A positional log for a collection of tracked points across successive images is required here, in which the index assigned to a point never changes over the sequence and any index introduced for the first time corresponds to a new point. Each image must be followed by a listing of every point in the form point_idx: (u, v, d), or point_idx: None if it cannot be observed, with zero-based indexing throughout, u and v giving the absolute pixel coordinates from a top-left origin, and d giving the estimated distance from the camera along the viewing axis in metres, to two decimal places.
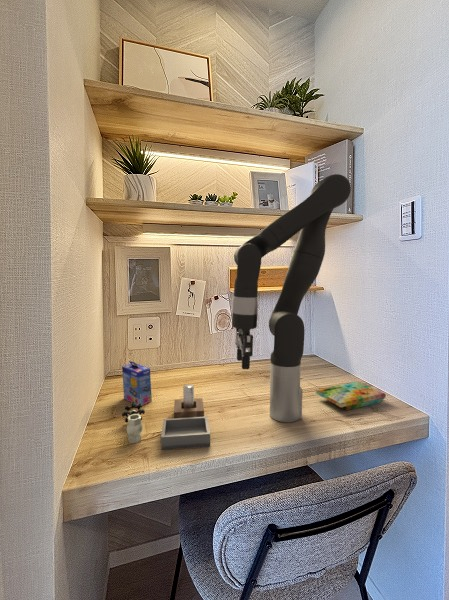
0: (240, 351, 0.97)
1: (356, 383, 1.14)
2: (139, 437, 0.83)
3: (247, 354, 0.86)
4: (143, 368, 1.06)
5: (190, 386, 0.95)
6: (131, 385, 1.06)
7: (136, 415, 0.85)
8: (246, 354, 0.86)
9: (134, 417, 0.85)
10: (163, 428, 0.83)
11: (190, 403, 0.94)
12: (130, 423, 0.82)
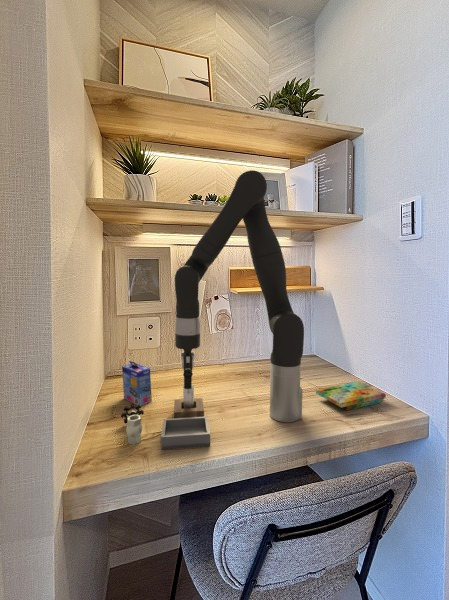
0: (187, 369, 0.99)
1: (355, 383, 1.14)
2: (139, 438, 0.83)
3: (187, 375, 0.88)
4: (143, 368, 1.06)
5: None
6: (131, 384, 1.06)
7: (136, 416, 0.84)
8: (186, 375, 0.88)
9: (134, 418, 0.84)
10: (163, 428, 0.83)
11: (190, 403, 0.94)
12: (130, 424, 0.81)
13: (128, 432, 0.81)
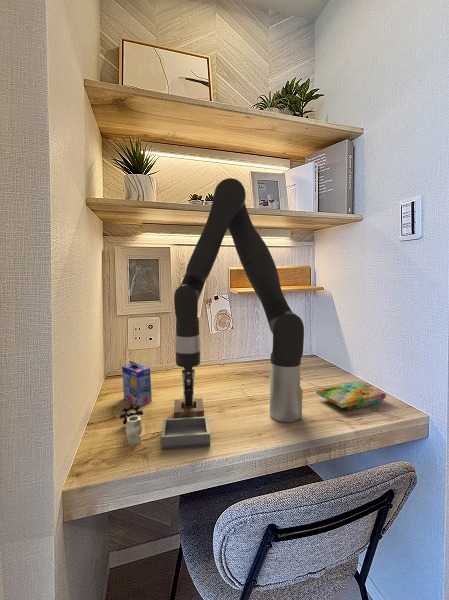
0: None
1: (355, 383, 1.14)
2: (139, 439, 0.82)
3: (188, 393, 0.91)
4: (143, 368, 1.06)
5: None
6: (131, 384, 1.06)
7: (135, 416, 0.84)
8: (187, 393, 0.91)
9: (133, 419, 0.84)
10: (163, 428, 0.83)
11: None
12: (130, 425, 0.81)
13: (128, 433, 0.81)
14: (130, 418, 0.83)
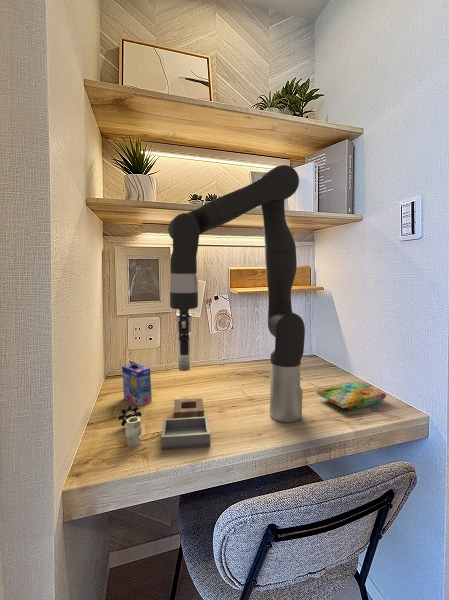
0: None
1: (355, 383, 1.14)
2: (139, 440, 0.82)
3: (183, 338, 0.80)
4: (143, 368, 1.06)
5: None
6: (131, 384, 1.06)
7: (135, 418, 0.83)
8: (182, 338, 0.79)
9: (133, 420, 0.83)
10: (163, 428, 0.83)
11: None
12: (129, 426, 0.80)
13: (128, 434, 0.80)
14: (129, 419, 0.82)
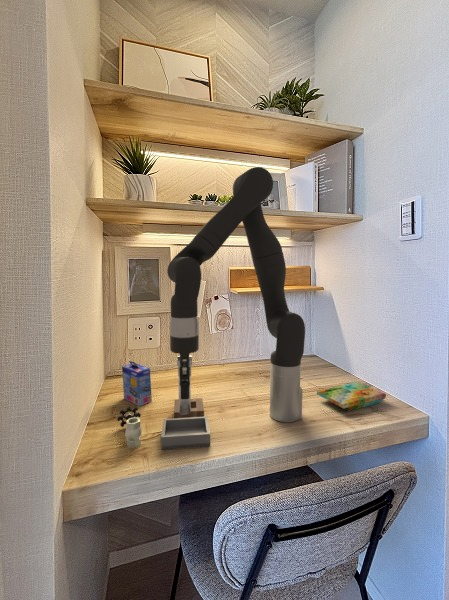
0: None
1: (355, 383, 1.14)
2: (139, 441, 0.81)
3: (183, 384, 0.78)
4: (143, 368, 1.06)
5: None
6: (131, 384, 1.06)
7: (135, 418, 0.83)
8: (182, 384, 0.78)
9: (132, 421, 0.83)
10: (163, 428, 0.83)
11: None
12: (129, 427, 0.80)
13: (128, 435, 0.80)
14: (129, 420, 0.82)
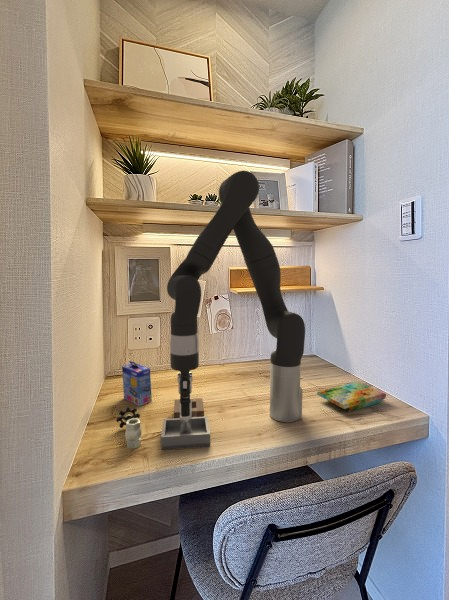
0: None
1: (355, 383, 1.14)
2: (139, 442, 0.81)
3: (184, 401, 0.76)
4: (143, 368, 1.06)
5: None
6: (131, 384, 1.06)
7: (134, 419, 0.82)
8: (183, 401, 0.76)
9: (132, 422, 0.82)
10: (163, 428, 0.83)
11: (187, 419, 0.82)
12: (129, 428, 0.79)
13: (128, 436, 0.79)
14: (129, 421, 0.81)
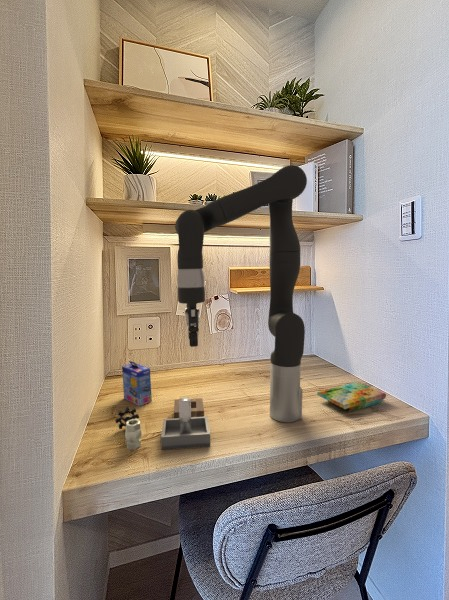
0: None
1: (355, 383, 1.14)
2: (139, 443, 0.80)
3: (192, 329, 0.80)
4: (143, 368, 1.06)
5: (186, 400, 0.83)
6: (131, 384, 1.06)
7: (134, 420, 0.82)
8: (191, 329, 0.80)
9: (132, 422, 0.82)
10: (163, 428, 0.83)
11: (187, 419, 0.82)
12: (129, 429, 0.79)
13: (128, 437, 0.79)
14: (129, 422, 0.81)
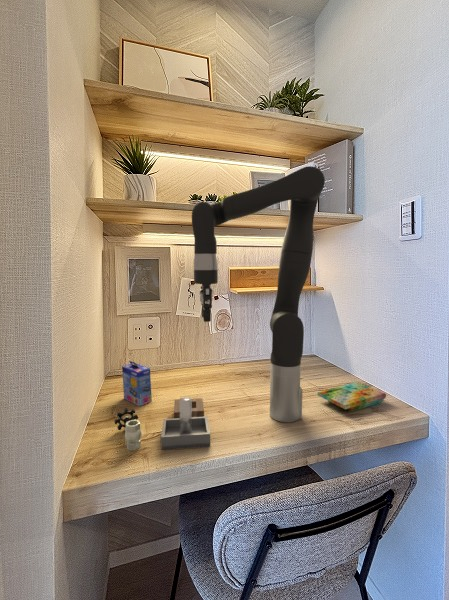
0: None
1: (355, 383, 1.14)
2: (139, 443, 0.80)
3: (207, 306, 0.91)
4: (143, 368, 1.06)
5: (187, 399, 0.83)
6: (131, 384, 1.06)
7: (134, 421, 0.81)
8: (206, 306, 0.91)
9: (132, 423, 0.81)
10: (163, 428, 0.83)
11: (187, 419, 0.82)
12: (129, 430, 0.78)
13: (128, 438, 0.78)
14: (129, 423, 0.81)
